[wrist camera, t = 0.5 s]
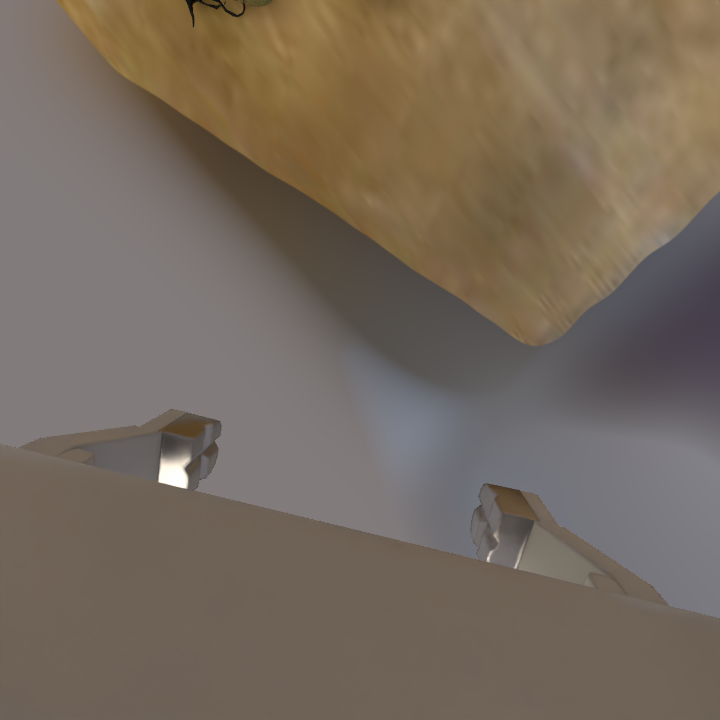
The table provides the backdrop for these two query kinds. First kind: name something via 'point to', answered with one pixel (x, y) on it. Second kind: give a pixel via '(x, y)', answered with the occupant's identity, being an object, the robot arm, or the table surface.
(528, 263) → the table surface
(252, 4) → the green cup
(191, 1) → the creature
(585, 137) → the table surface
